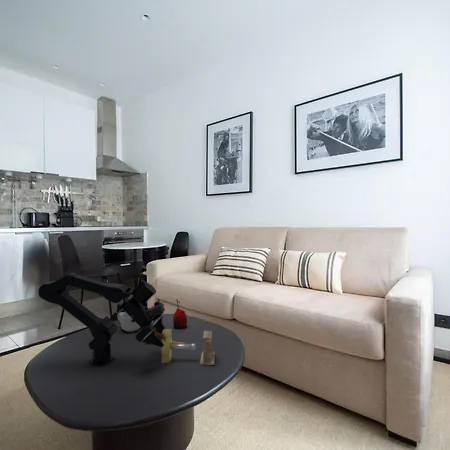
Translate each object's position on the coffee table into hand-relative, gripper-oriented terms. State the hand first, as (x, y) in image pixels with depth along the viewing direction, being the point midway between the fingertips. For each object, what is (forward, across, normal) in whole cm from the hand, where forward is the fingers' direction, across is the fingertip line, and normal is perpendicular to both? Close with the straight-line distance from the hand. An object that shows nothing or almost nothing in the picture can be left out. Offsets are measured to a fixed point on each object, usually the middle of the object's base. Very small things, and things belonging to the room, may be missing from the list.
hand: (165, 340), depth 105 cm
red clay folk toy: (+6, +34, +5) cm, 35 cm away
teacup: (-11, +32, +22) cm, 41 cm away
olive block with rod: (+9, 0, +1) cm, 9 cm away
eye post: (+16, 0, -6) cm, 17 cm away
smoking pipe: (+3, +16, +8) cm, 18 cm away
